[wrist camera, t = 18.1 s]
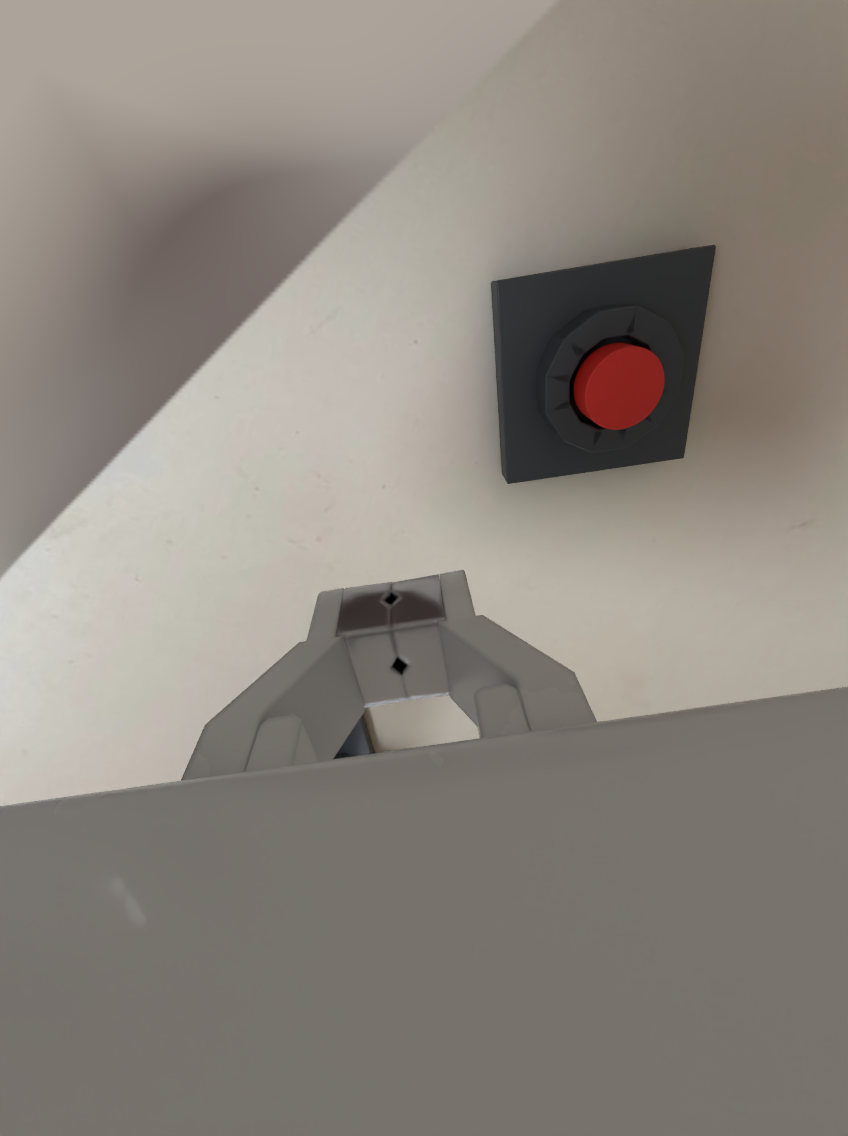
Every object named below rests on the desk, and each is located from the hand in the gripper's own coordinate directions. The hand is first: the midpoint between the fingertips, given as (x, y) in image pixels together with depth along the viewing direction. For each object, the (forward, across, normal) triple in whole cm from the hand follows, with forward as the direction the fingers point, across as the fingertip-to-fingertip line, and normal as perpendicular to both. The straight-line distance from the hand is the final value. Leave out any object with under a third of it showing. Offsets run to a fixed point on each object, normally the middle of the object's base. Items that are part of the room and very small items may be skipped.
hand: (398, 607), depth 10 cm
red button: (+16, -11, 0) cm, 19 cm away
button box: (+19, -11, 0) cm, 21 cm away
